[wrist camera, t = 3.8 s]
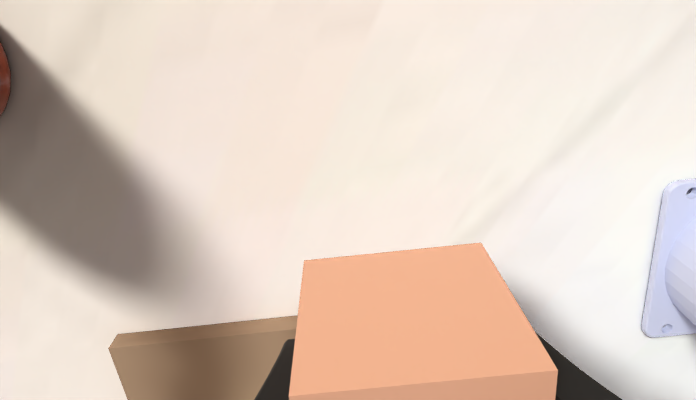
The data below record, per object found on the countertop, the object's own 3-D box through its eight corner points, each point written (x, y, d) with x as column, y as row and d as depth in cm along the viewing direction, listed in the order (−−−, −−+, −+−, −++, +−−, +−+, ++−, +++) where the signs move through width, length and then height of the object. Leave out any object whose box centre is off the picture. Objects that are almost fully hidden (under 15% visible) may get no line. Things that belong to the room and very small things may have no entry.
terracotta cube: (480, 242, 13) (557, 370, 9) (479, 379, 15) (542, 542, 11) (304, 260, 13) (288, 396, 9) (325, 394, 15) (321, 563, 11)
